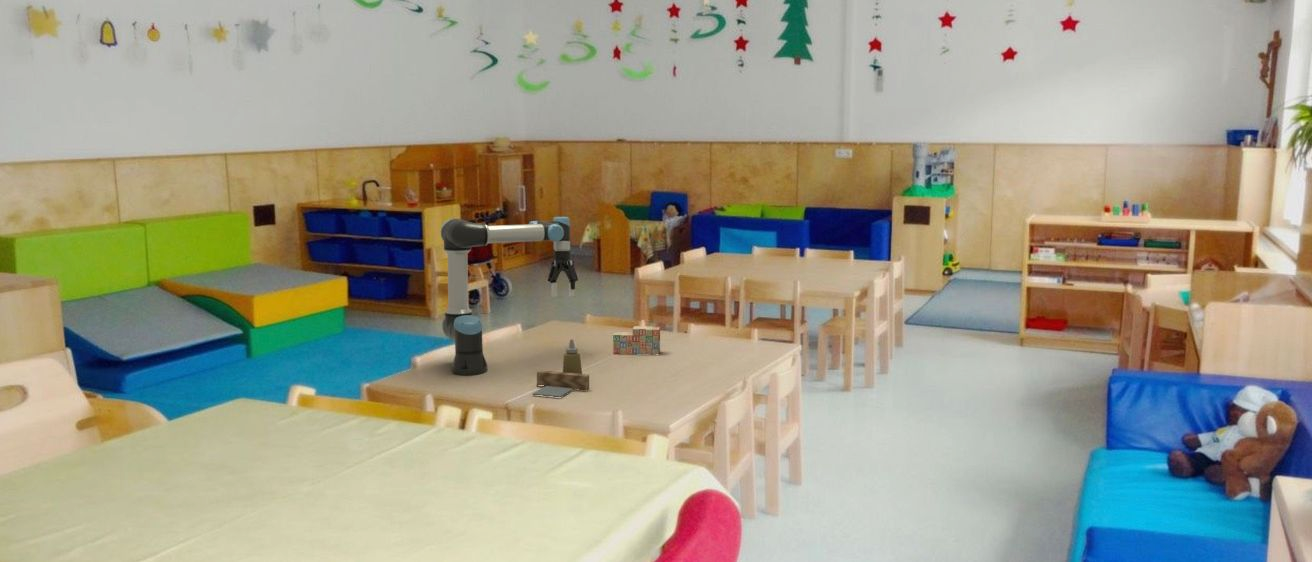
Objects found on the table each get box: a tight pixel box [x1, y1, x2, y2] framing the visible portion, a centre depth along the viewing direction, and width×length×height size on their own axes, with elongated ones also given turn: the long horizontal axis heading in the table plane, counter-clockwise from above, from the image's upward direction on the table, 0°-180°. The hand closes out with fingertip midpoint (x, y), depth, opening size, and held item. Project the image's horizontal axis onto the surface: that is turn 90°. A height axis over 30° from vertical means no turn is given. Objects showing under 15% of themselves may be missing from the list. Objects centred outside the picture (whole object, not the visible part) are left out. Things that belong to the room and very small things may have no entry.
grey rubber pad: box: [532, 386, 574, 398], centre depth 386 cm, size 12×12×1 cm
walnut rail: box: [536, 369, 590, 391], centre depth 394 cm, size 22×3×6 cm, turn 70°
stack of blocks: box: [612, 325, 661, 356], centre depth 452 cm, size 21×6×12 cm, turn 84°
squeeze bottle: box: [562, 339, 583, 374], centre depth 401 cm, size 8×8×18 cm
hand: (562, 296), depth 448 cm, fingers open, 13 cm apart
